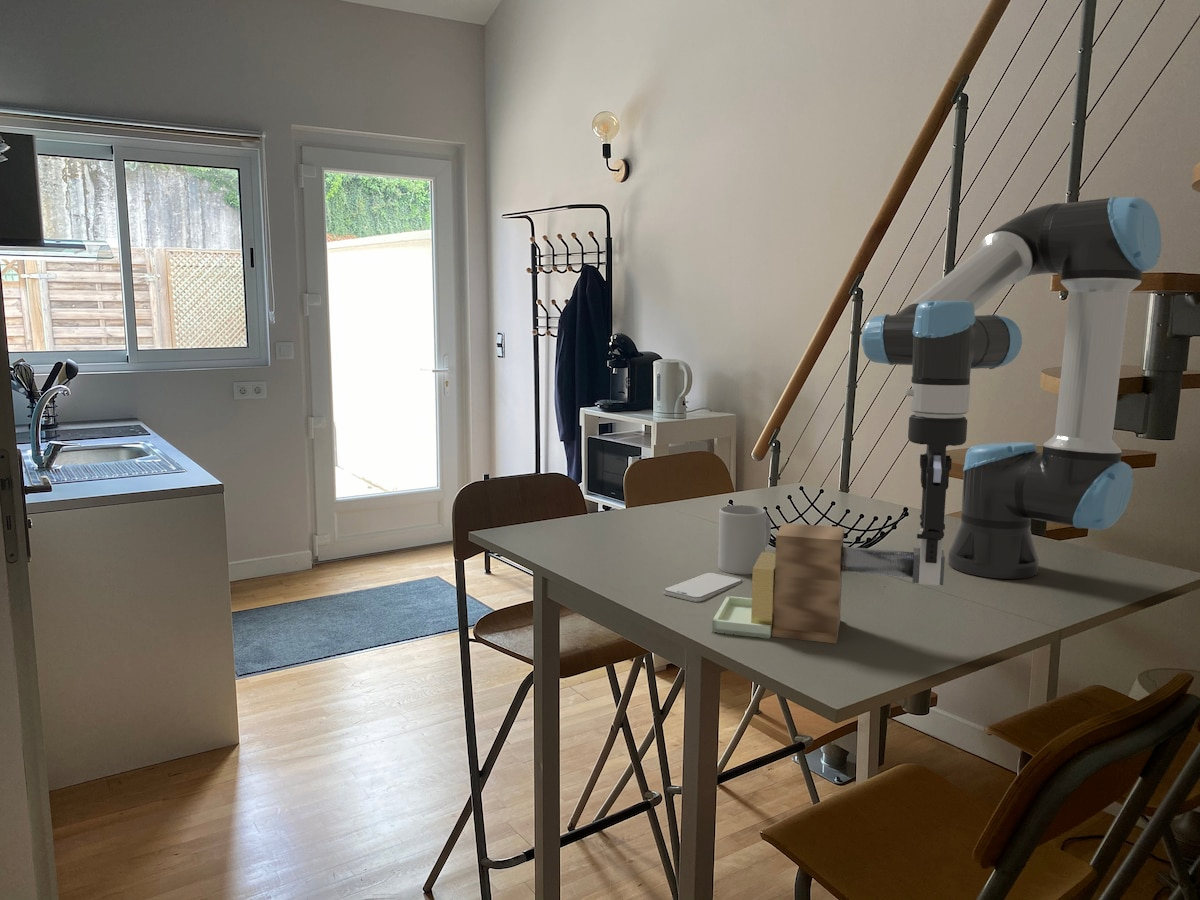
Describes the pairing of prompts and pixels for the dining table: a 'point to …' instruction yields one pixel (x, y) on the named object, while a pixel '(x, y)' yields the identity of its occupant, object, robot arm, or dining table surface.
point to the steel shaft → (884, 562)
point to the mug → (742, 537)
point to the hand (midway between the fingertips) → (928, 578)
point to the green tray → (738, 619)
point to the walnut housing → (808, 582)
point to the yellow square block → (763, 590)
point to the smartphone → (701, 587)
